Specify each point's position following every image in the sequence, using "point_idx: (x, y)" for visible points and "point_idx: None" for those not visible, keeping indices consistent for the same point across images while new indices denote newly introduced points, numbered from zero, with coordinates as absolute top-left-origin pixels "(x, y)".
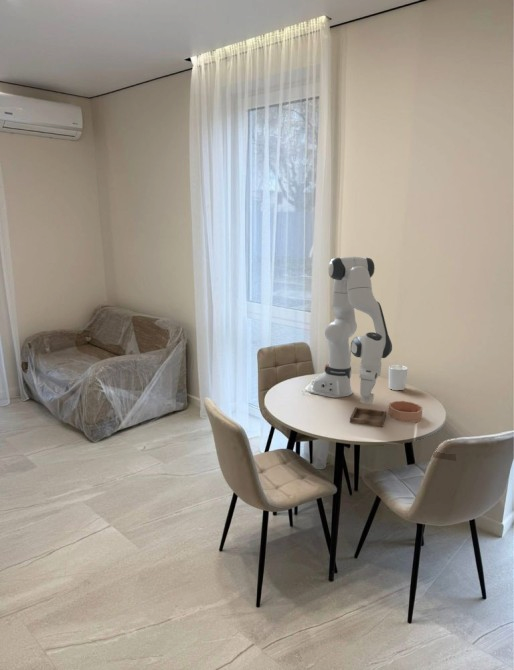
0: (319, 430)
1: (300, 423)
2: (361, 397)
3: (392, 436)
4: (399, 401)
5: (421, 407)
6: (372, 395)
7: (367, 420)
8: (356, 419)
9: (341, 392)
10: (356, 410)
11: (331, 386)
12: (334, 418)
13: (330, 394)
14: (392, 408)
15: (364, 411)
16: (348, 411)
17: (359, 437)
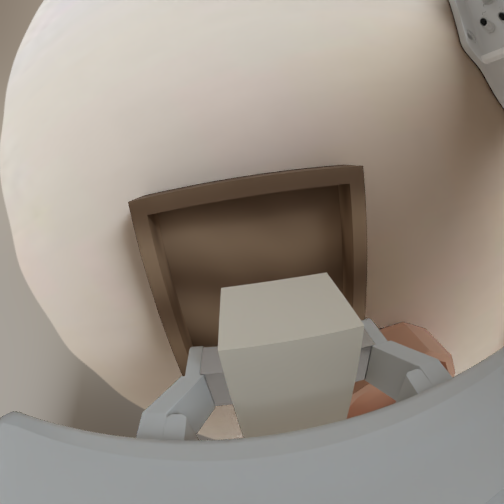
0: (18, 109)
1: (59, 7)
2: (220, 330)
3: (150, 396)
4: (450, 369)
5: None
6: (288, 430)
7: (161, 314)
8: (140, 246)
9: (497, 71)
10: (322, 185)
11: (497, 23)
12: (188, 77)
13: (467, 26)
14: (361, 391)
15: (346, 234)
16: (353, 120)
17: (49, 294)
